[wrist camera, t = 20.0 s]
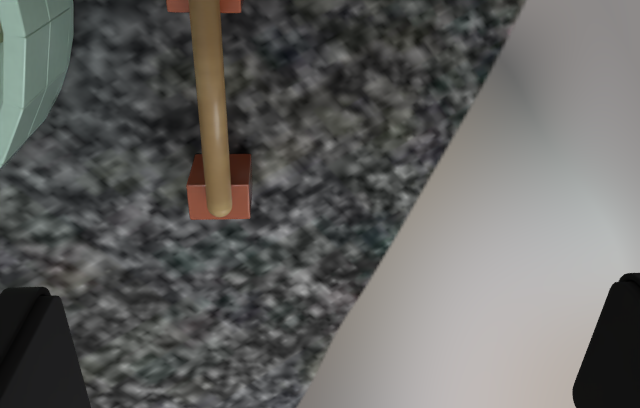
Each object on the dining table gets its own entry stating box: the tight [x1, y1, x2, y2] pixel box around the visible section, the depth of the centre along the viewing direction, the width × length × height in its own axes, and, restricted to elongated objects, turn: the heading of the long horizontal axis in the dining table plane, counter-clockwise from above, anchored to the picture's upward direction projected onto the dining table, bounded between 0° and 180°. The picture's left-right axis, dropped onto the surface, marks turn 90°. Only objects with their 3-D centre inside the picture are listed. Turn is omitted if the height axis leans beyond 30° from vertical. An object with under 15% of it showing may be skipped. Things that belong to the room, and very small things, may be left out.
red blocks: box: [166, 0, 252, 220], centre depth 26 cm, size 12×3×4 cm, turn 178°
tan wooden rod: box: [188, 0, 232, 217], centre depth 24 cm, size 12×1×1 cm
